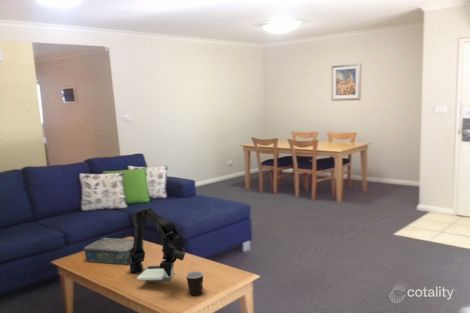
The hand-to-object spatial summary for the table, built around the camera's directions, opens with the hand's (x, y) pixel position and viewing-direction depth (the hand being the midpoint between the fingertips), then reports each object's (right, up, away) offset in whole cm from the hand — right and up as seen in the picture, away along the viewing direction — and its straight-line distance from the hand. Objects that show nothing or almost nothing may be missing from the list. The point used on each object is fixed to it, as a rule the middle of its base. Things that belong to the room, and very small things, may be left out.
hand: (170, 274), depth 224 cm
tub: (-8, -7, +14) cm, 18 cm away
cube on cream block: (-7, -2, +3) cm, 8 cm away
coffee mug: (+15, -8, -4) cm, 17 cm away
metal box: (-44, -4, +53) cm, 69 cm away
